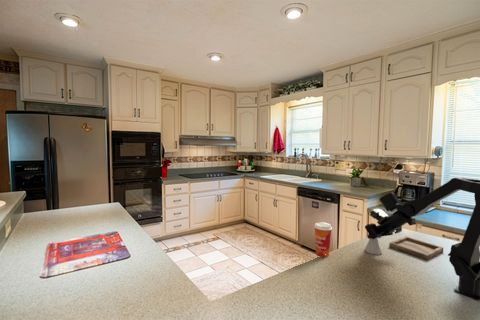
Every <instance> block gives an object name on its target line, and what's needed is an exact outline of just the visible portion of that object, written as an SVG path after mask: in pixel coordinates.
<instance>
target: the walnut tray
mask: <svg viewBox="0 0 480 320" xmlns="http://www.w3.org/2000/svg"><path fill="white" fill-rule="evenodd" d="M388 247H389V248H391V249H394V250H397V251H399V252H402V253H405V254H407V255H408V254H409V255H411V256H414V257H416V258H419V259H422V260H425V261H430V260H431V259H433V258H435V257H437V256H438V255H440V254H442V253H444V247H443V246H439V245H436V244H433V243H430V242H427V241H423V240H420V239H416V238H413V237H410V236H406V235H405V236H403V237H400V238H398V239H395V240H393V241H390V242H389V246H388Z"/></svg>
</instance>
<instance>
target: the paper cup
mask: <svg viewBox="0 0 480 320" xmlns="http://www.w3.org/2000/svg"><path fill="white" fill-rule="evenodd" d="M313 227H314V236H315V237H314V239H315V240H314V241H315V242H314V243H315V255H316V257H320V256H322V257H320V258H328V257H329V256H330V248H331V239H332V238H331V237H332V236H331V235H332V230H333V227H332V224H331V223H330V222H329V223H328V222H324V221H323V222H322V221H319V222H315V224H314V226H313ZM325 254H326V255H325Z"/></svg>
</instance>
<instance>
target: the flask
mask: <svg viewBox="0 0 480 320" xmlns="http://www.w3.org/2000/svg"><path fill="white" fill-rule="evenodd" d="M364 252H366V253H367V254H371V255H377V256H379V255H382V248H381V246H380V244H379V238H377V239H368V242H367V243H366V245H365V248H364Z"/></svg>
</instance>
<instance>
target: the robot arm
mask: <svg viewBox="0 0 480 320" xmlns="http://www.w3.org/2000/svg"><path fill="white" fill-rule="evenodd" d="M459 191H463V192H467V193H471V194H474V197H473V198H474V202H475V204H474V205H475V206H474V208H473V210H472V213H471V216H470V219H469V221H468V224H467V226H466V229H465V232H464V235H463V237H462V240H461V242H457V243H455V244H451V247H450V252H449V253H448V254H447V256H448V257H449V258H448V261H449V263H450V264H451V265H452V267H453V270H454V272H455V275H456V276H458V285H457V286H456V287H455V288H453V291H454V292H456V293H459V294H461V295H463V296H466V297H469V298H471V299H474V300H476V301H480V179H477V178H476V179H474V178H466V177H461V176H459V177H453V178H450V180H448V181H447V182H446V183H443V184H442V185H440V186H439V187H437V188H435V189H433V190H432V191H430V192H429V193H427V194H425V195H424V196H422V197H419V198H415V199H412V200H410V201H407V202H406V201H405V202H404V201H403V202H402V201H400V199H399V198H398V197H397V195H396V194H395V193H394V192H389V193H388V194H386V195H384V196H381V197H379V199H378V201H379V202H380V203H381V205H382V206H383V207H384V209H385V211H387V212H390V213H391V214H390V215H388V213H386V212H385V211H384V210H383V209H381V208H373V209H372V210H371V211H370V212H369V213H370V214H369V215H370V217H372V218H373V219H375V220H377V221H376V223H377V224H378V225H376V223H367V224H366V225H365V226H364V229H365V231H366V232H367V233H368V234H367V237H366V238H367V239H368V240H369V239H380V238H382V237H386V236H393V234H395V235H396V234H400V233H401V232H402V231H403V226H404V225H406V224H408V226H414V225H416V218H414V217H418V216H423V215H424V214H425V213H427V212H428V211H429V210H430V209H431V207H432V206H434V205H435V204H437V203H438V202H441V201H443V200H444V199H446V198H448V197H450V196H452V195H454V194H455V193H457V192H459Z"/></svg>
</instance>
